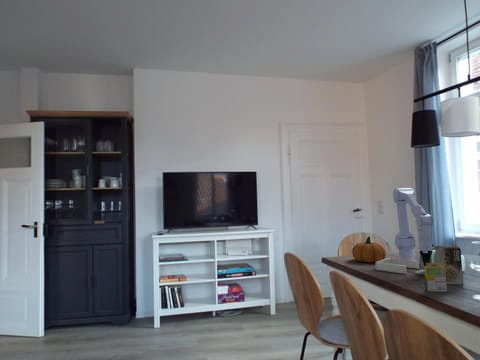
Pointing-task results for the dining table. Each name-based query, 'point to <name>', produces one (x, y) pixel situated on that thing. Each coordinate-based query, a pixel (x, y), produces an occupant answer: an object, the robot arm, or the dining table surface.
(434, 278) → the crayon box
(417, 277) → the dining table surface
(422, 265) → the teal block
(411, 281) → the dining table surface
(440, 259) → the coffee box
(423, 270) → the grey pad
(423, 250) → the robot arm
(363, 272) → the dining table surface
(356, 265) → the dining table surface
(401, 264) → the open side box
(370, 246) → the pumpkin
